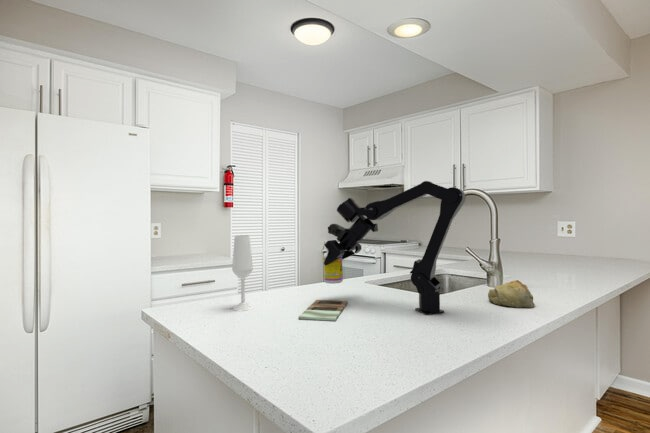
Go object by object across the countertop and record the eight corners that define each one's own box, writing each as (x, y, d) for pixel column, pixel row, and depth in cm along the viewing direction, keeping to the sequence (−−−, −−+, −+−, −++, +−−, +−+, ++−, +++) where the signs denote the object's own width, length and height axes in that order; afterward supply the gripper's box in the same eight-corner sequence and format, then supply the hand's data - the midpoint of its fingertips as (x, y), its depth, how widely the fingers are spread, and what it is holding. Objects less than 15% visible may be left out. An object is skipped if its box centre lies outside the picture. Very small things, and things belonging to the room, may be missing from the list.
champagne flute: (228, 310, 119) (227, 236, 119) (238, 305, 126) (237, 234, 126) (248, 311, 118) (246, 236, 118) (256, 305, 124) (255, 234, 124)
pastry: (543, 306, 119) (543, 282, 119) (515, 311, 114) (515, 285, 114) (506, 297, 132) (506, 275, 132) (480, 301, 127) (480, 278, 127)
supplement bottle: (343, 283, 127) (342, 246, 127) (324, 284, 127) (323, 247, 127) (342, 280, 134) (341, 244, 134) (323, 280, 134) (322, 245, 133)
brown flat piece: (316, 302, 129) (316, 299, 129) (347, 303, 126) (347, 300, 126) (298, 319, 108) (298, 316, 108) (335, 321, 105) (335, 318, 105)
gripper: (352, 215, 136) (327, 244, 142) (329, 216, 120) (301, 249, 125) (373, 236, 133) (346, 266, 138) (351, 240, 116) (322, 273, 122)
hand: (329, 263), depth 131 cm, fingers closed on supplement bottle, 7 cm apart
